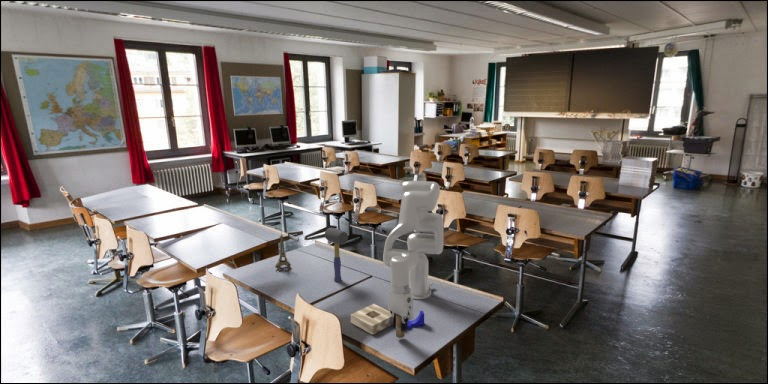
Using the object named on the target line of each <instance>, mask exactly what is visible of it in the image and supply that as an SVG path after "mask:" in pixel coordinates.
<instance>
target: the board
mask: <svg viewBox="0 0 768 384" xmlns="http://www.w3.org/2000/svg"><path fill="white" fill-rule="evenodd" d="M350 323H351V324H352V325H354V326H356V327H357V328H359V329H361V330H363V331H365V332H367V333H369V334H370V335H371V336H374V335H376V334H377V333H379V332H381V331H383V330H384V329H386V328H388V327H391V326H393V318H392V314H391V313H390V311H389V310H387V309H386V308H383V307H381V306H379V305H377V304H375V303H372V304H370V305H368V306H365V307H363V308H362V309H359V310H357V311H355V312H353V313H351V314H350Z"/></svg>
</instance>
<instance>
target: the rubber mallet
mask: <svg viewBox="0 0 768 384" xmlns="http://www.w3.org/2000/svg"><path fill="white" fill-rule="evenodd" d="M324 238H325V239H326V240H327V241H328V242H329V241H330V242H331V243H334V248H333V249H334V258H333V269H334V277H333V281H334V282H335V283H340V282H341V281H342V276H341V275H342V273H341V270H342V269H341V266H342V264H341V263H342V262H341V257H340V256H341V255H340V245H341V246H342V245H346V243H347V242H348V239H349V235H348V233H347V232H346V231H344V230H342V229H339V228H335V227H328V228H327V229H326V230H325V231H324Z"/></svg>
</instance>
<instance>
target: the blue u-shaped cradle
mask: <svg viewBox="0 0 768 384" xmlns="http://www.w3.org/2000/svg"><path fill="white" fill-rule="evenodd" d="M415 327H416V328H417V327H425V313H424V310H420V311H419V314H418V316H417V317H416V318H414V319H412V320H409V321H408V322H407V330H411V329H412V328H415Z"/></svg>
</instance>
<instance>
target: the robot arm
mask: <svg viewBox="0 0 768 384" xmlns="http://www.w3.org/2000/svg"><path fill="white" fill-rule="evenodd" d="M401 192H402V197H401V200H400V201H401V202H400V209H399V217H398V224H397V225H396V226H395V227H394V228H393V229H391V231H390V233H389V234H388V235H387V237H386V239H385V242H384V247H383V256H382V261H383V264H384V265H385V267H387V268H389V271H390V272H389V275H390V277H389V278H390V280H389V281H390V285H389V286H390V288H389V291H388V300H387V307H386V308H387V309H388V311H390V313H391V314H392V318H393V324H392V328H395V329H396V314H398V315H400V316H401V317H402V323H401V332H404V331H405V332H406V331H407V330H408V329H407V322H408V321H412V320H414V319H415V317H414V314H413V313H414V301H413V300H425V299H429V298H430V297H431V296H432V291H431V290H430V288H431V287H434V282H433V281H432V282H429V259H428V256H427V255H426V254H429V255H440V254H442V253H443V251H444V218H443V216H442V214H440V213H437V212H432V211H434V209H435V208H436V206H437V202H438V200H439V198H440V197H439V196H440V194H441V187H440V185H439V183H438V182H436V181H428V180H427V181H425V180H424V181H423V180H406V181H404V182H402V184H401ZM411 232H414V233H411ZM409 233H411V234H409ZM406 234H409V235H408V236H407V240H406V242H407V249H400V248H393V245H394V242H395V241H396V240H397V239H398V238H399V237H401V236H403V235H406Z"/></svg>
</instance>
